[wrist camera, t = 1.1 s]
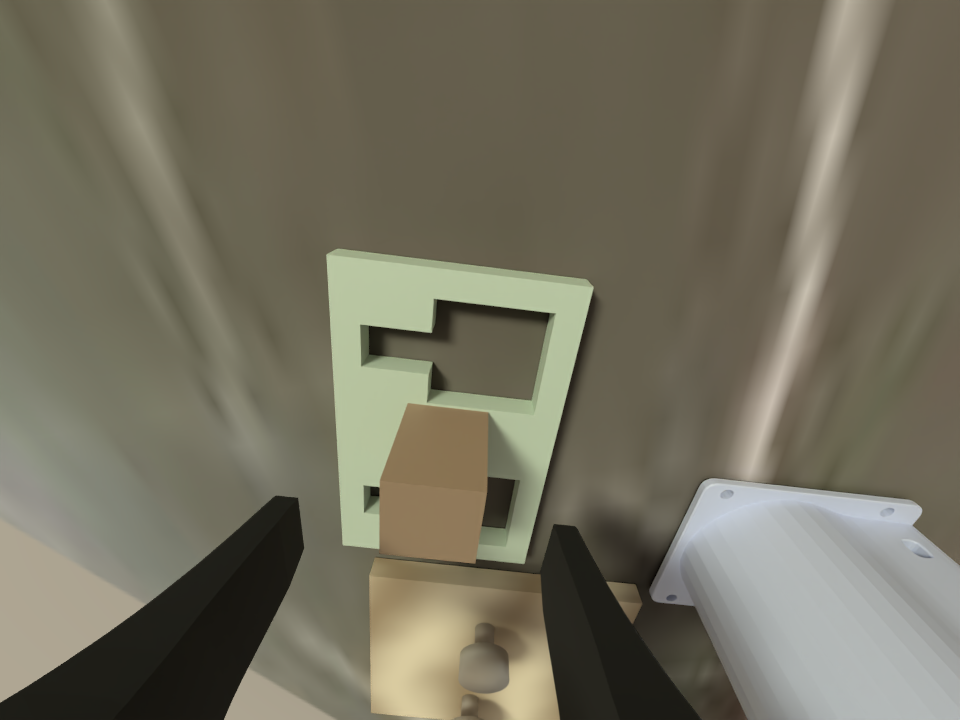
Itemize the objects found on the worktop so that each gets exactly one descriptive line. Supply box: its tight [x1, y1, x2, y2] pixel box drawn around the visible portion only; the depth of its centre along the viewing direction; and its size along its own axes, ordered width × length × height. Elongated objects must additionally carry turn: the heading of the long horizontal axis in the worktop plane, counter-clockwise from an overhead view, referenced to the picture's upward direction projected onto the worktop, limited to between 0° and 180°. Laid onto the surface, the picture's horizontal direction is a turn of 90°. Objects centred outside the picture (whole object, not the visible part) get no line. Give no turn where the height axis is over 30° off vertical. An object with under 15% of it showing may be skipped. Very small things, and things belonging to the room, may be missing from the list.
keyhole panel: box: [327, 249, 594, 564], centre depth 14 cm, size 8×13×5 cm, turn 173°
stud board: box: [369, 557, 642, 720], centre depth 21 cm, size 13×13×3 cm
